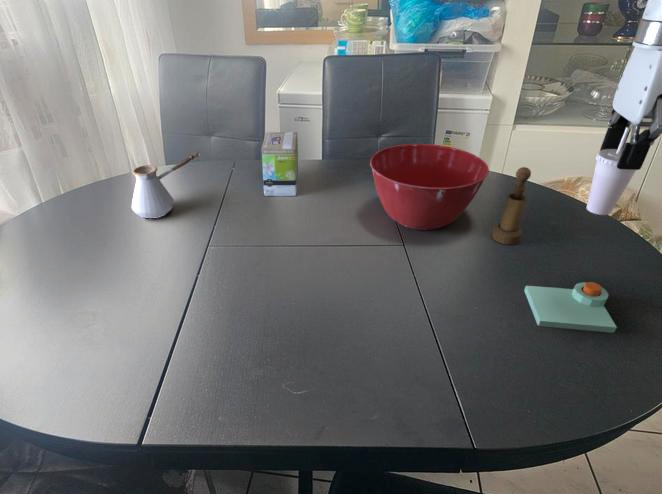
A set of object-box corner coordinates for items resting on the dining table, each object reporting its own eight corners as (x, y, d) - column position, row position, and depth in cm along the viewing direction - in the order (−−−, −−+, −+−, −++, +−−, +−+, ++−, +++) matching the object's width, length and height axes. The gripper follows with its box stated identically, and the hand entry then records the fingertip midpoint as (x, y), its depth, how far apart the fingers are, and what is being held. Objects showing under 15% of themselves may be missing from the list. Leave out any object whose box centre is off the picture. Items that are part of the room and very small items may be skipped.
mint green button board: (596, 295, 90) (601, 283, 88) (619, 333, 81) (625, 321, 79) (523, 289, 92) (527, 278, 91) (537, 326, 83) (542, 314, 81)
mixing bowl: (491, 211, 121) (504, 155, 112) (451, 258, 102) (464, 197, 94) (396, 187, 135) (401, 136, 126) (346, 225, 117) (348, 169, 108)
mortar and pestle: (524, 244, 106) (546, 173, 96) (497, 245, 106) (516, 174, 96) (513, 231, 112) (533, 162, 102) (487, 231, 112) (504, 163, 102)
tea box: (297, 196, 132) (295, 147, 123) (263, 197, 132) (259, 148, 124) (298, 176, 144) (297, 130, 136) (267, 176, 144) (264, 131, 136)
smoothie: (603, 200, 80) (634, 121, 72) (629, 217, 74) (666, 133, 66) (569, 203, 79) (597, 123, 71) (593, 220, 74) (627, 136, 66)
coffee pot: (136, 226, 119) (122, 173, 111) (131, 208, 128) (117, 158, 119) (214, 209, 126) (206, 158, 118) (204, 194, 135) (196, 145, 126)
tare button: (595, 288, 88) (598, 282, 87) (601, 297, 85) (604, 291, 84) (580, 287, 88) (583, 281, 87) (585, 296, 86) (588, 289, 85)
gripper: (737, 44, 54) (671, 183, 64) (668, 26, 68) (623, 143, 78) (668, 45, 55) (613, 180, 65) (614, 27, 69) (576, 141, 79)
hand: (619, 159), depth 72 cm, fingers closed on smoothie, 6 cm apart
